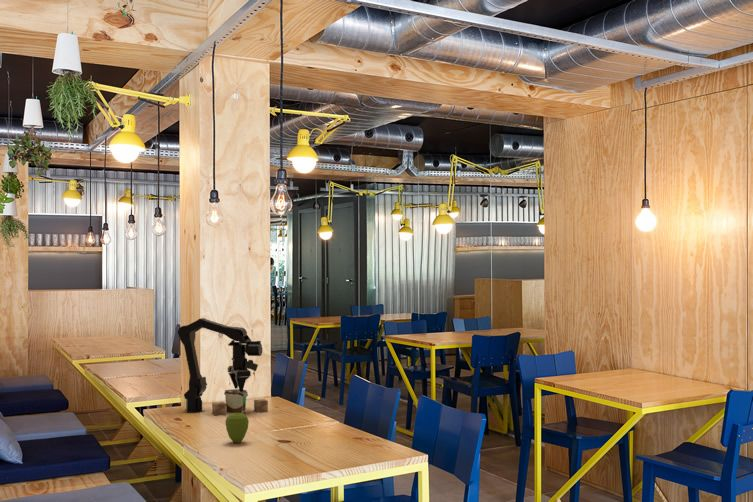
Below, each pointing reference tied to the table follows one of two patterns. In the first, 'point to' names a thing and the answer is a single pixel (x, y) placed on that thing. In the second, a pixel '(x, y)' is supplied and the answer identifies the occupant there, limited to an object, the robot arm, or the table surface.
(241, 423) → the green tapered egg
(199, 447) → the table surface
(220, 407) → the dotted block left
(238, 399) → the food container
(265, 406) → the dotted block right
